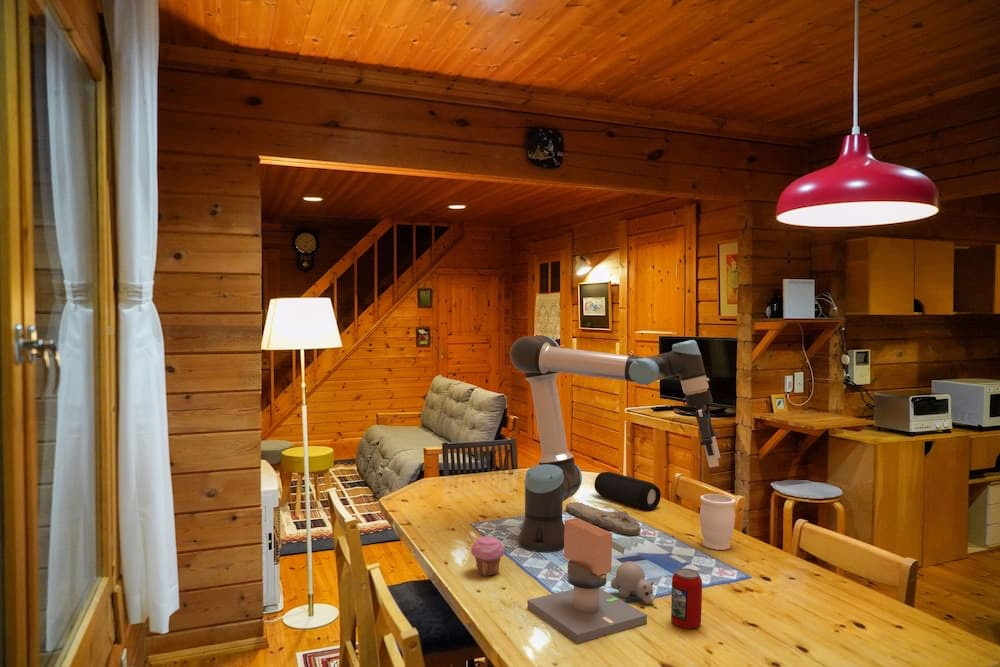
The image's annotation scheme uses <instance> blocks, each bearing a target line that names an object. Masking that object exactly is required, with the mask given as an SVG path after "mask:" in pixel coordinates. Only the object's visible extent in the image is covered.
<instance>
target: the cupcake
mask: <svg viewBox="0 0 1000 667" xmlns="http://www.w3.org/2000/svg"><path fill="white" fill-rule="evenodd" d="M504 554H505V548H504V544H503V542H502V541H501V540H499V539H498V538H496V537H494V536H485V535H484V536H481V537H477V538H476V540H475V541H474V543H473V545H472V547H471V555H472V556H473V557H474V559H475V561H476V568H477V570H478V573H479V574H480V575H481V576H483V577H488V576H493V575H497V574H498V573H499V571H500V569H499V568H500V562H501V558H502V557H503V556H504Z"/></svg>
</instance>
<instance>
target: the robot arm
mask: <svg viewBox="0 0 1000 667" xmlns="http://www.w3.org/2000/svg"><path fill="white" fill-rule="evenodd" d="M671 348H672V349H671V351H668V352H663V353H659V354H655V355H651V356H650V355H649V356H645V357H644V356H643V357H642V356H636V355H635V356H634V355H625V354H620V353H619V354H617V353H609V352H602V351H592V350H584V349H575V348H568V347H560V345H559V343H558V342H557V341H556V340H555V339H554V338H552V337H550V336H548V335H547V336H546V335H543V334H540V335H538V334H537V335H530V336H529V335H526V336H522V337H520V338H518V339H517V340H515V341H514V342H513V344H512V345H511V347H510V350H509V358H510V361H511V363H512V365H513V367H514V368H515V369H516V370H518V371H520V372H522V373H523V375H524V379H525V380H526V381H527V382H528V383H529V384H530V389H531V390H530V391H531V396H532V400H533V406H534V413H535V418H536V419H535V420H536V424H537V430H538V431H537V432H538V436H539V442H540V443H539V444H540V449H541V457H540V458H539V459H538V465H534V466H531V467H530V468H528V470H526V472H525V478H524V479H525V480H524V519H523V522H522V524H521V528H520V532H519V534H518V544H519V546H520V547H522V548H524V549H525V550H529V551H535V552H543V553H544V552H545V553H547V552H557V551H558V552H559V551H561V550H564V526H565V523H564V521H563V507H564V505H563V502H564V501H566V500H568V499H569V498H571V497H573V496H574V495H575V494H576V493H577V492H578V490H579V489H580V487H581V486H582V480H583V475H582V471H581V469H580V467H579V466H578V465H577V464H576V463H575V456H574V454H572V453H571V452H570V451H569V448H568V443H567V437H566V431H565V430H566V429H565V425H564V419H563V414H562V408H561V402H560V401H561V400H560V395H559V390H558V384H557V378H558V377H559V375H560V373H562V374H563V373H564V374H570V375H578V376H579V375H580V376H586V377H593V378H601V379H610V380H616V381H617V380H618V381H625V382H629V383H636V384H637V385H640V386H642V385H643V386H647V385H650V384H653V383H655V382H657V381H660V380H664V379H668V378H673V377H676V376H677V377H678V376H679V379H680V380H679V381H680V384H681V388H682V391H683V394H685V395H684V399H685V403H686V407H688V408H694V407H695V408H696V410H695V413H694V414H695V415H694V416H695V418H696V421H697V425H698V426H699V432H700V437H701V442H700V446H703V448H704V452H705V457H706V460H707V464H708V468H716V467H719V466H720V463H719V459H720V458H721V455H720V450H719V447H718V442H717V439H716V437H717V436H718V434H717V432H716V431H715V430H714V427H713V424H712V418H711V413H710V410H709V409H708V406H707V405H708V404H711V403H713V397H712V393H711V391H710V389H709V388H710V385H709V383H708V382H709V381H710V378H709V377H707V374H706V370H705V366H704V362H703V359H702V353H701V351H700V349H699V345H698V342H697V341H696V340H695V339H689V340H686V341H682V342H677V343H674V344H672V346H671Z"/></svg>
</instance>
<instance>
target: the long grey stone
mask: <svg viewBox="0 0 1000 667" xmlns="http://www.w3.org/2000/svg"><path fill="white" fill-rule="evenodd" d="M565 512H566V513H570V514H571V515H574V516H576V518H579V519H581V520H583V521H586V522H588V523H590V524H592V525H595V526H598V527H599V528H601V529H604V530H609V531H612V532H613V531H614V533H615V532H617V533H616V534H623V535H629V536H636V535H638V534H640V533H641V530H642V529H641V527H640V523H639V522H638V521H637V520H636V519H635V518H633V517H631V516H629V514H628V512H627V511H616V510H615V511H604V510H602V509H599V508H596V507H594V506H590V505H588V504H585V503H583V502H577V501H576V502H575V501H574V502H569V503H567V504H566V505H565Z"/></svg>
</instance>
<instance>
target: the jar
mask: <svg viewBox="0 0 1000 667" xmlns="http://www.w3.org/2000/svg"><path fill="white" fill-rule="evenodd" d="M700 501H701V504H700V510H699V523H700V531H701V534H702V537H703V541H702V546H704V547H705V548H708V549H710V550H714V549H715V551H725V550H729V549H731V544H730V541H731V540H732V537H733V533H734V527H735V521H736V517H735V516H736V514H735V508H734V505H736V499H735V498H733V497H731V496H728V495H724V494H718V493H708V494H703V495H700Z"/></svg>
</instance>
